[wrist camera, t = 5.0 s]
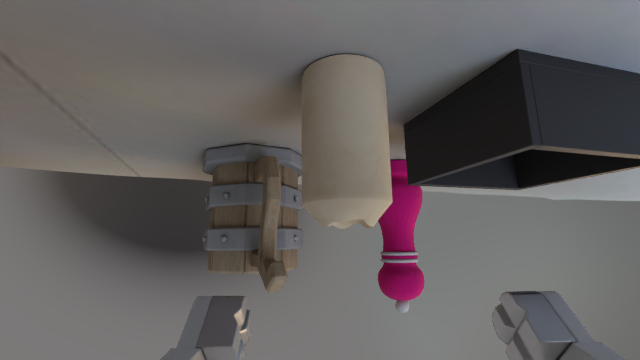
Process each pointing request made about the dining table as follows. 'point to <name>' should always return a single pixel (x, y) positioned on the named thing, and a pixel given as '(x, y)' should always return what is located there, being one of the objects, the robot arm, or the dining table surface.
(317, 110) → the candle
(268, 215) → the tankard
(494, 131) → the box
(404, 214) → the pepper mill
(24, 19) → the dining table surface
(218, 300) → the robot arm
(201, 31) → the dining table surface
